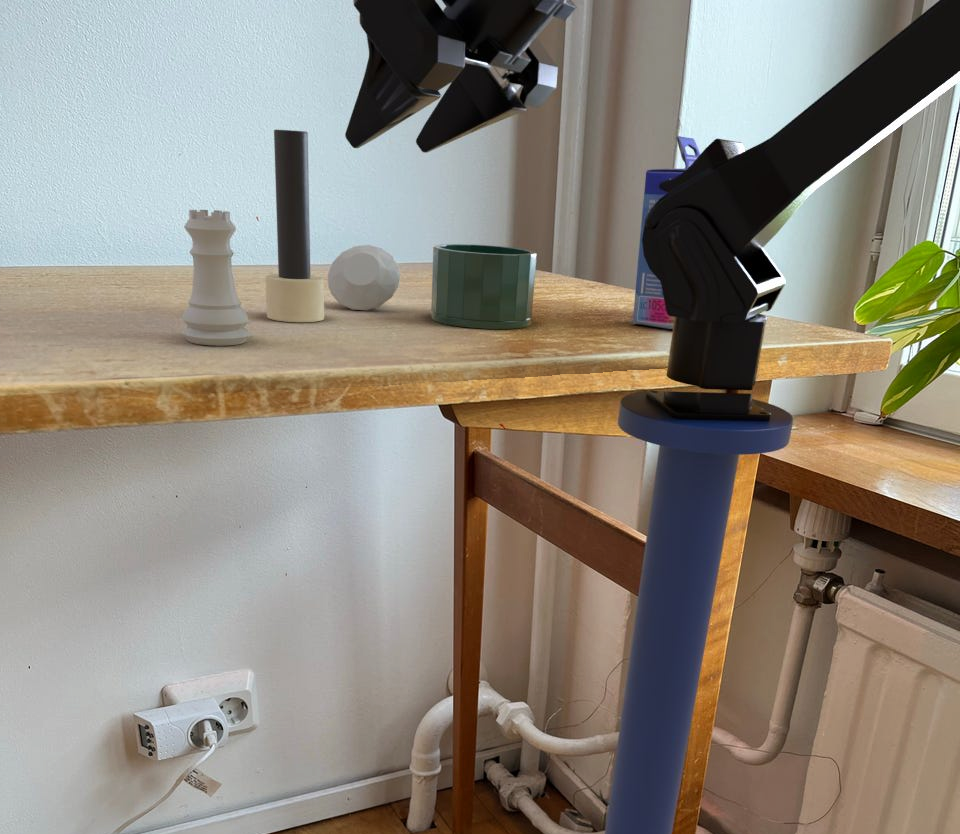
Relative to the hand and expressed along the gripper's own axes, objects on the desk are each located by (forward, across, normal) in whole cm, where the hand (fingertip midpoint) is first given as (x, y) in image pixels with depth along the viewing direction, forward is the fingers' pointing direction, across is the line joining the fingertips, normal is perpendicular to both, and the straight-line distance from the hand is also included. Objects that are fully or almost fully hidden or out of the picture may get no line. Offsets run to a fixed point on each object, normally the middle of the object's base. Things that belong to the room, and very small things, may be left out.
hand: (387, 145), depth 68 cm
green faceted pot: (+7, -10, +11) cm, 16 cm away
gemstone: (+14, -9, +3) cm, 17 cm away
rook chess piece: (+13, +12, +5) cm, 18 cm away
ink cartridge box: (-2, -23, +20) cm, 31 cm away
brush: (+14, 0, +3) cm, 15 cm away
